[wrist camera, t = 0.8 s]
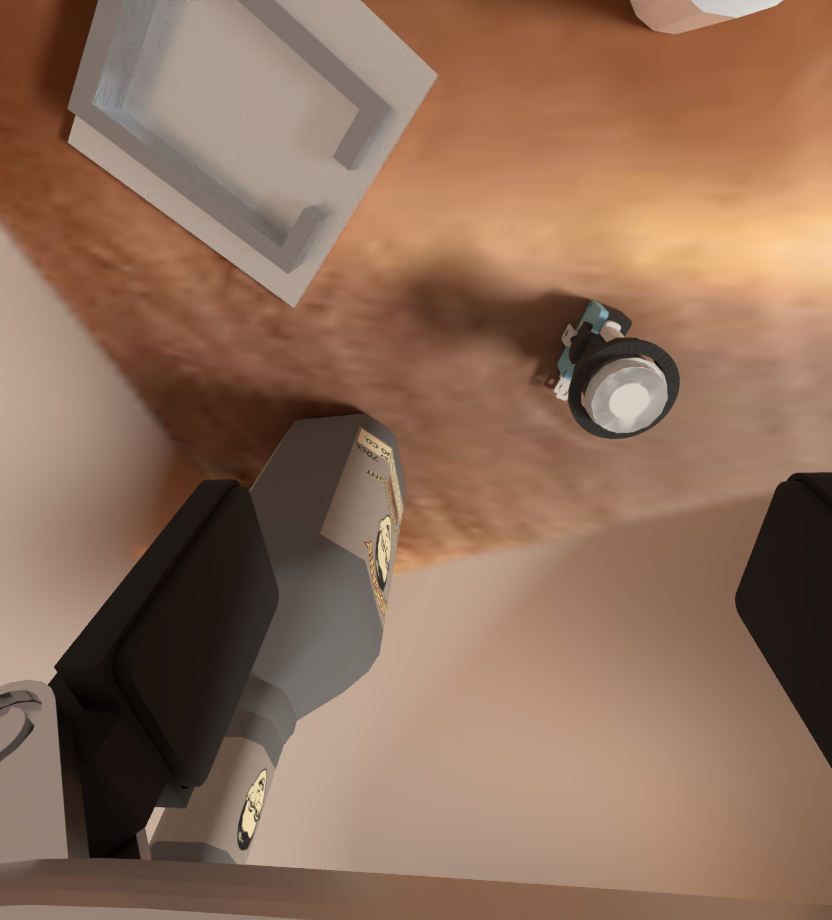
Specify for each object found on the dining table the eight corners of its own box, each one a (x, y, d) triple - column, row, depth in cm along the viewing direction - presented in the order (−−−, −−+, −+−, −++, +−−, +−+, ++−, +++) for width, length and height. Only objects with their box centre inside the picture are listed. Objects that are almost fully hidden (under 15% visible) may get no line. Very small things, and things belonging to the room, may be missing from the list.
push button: (590, 402, 35) (631, 481, 26) (521, 376, 34) (541, 448, 26) (643, 314, 31) (711, 372, 23) (568, 283, 31) (609, 331, 22)
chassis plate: (176, -176, 22) (132, -228, 19) (438, 77, 26) (435, 67, 23) (79, 142, 29) (35, 141, 26) (298, 304, 33) (282, 318, 30)
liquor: (305, 511, 42) (68, 1052, 17) (274, 416, 38) (-118, 966, 12) (410, 504, 41) (327, 1078, 15) (392, 405, 36) (230, 992, 11)
